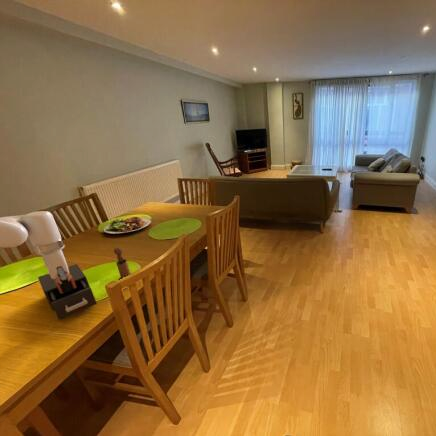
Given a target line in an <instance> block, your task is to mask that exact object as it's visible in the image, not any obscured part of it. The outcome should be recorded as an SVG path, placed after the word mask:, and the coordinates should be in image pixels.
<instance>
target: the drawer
mask: <svg viewBox="0 0 436 436" xmlns="http://www.w3.org/2000/svg"><path fill="white" fill-rule="evenodd" d="M74 283H75V285H76V288H74V289H73V290H70V291H68V292H65V293H60V291H59V289H55V290H53V291H50V292H49V293H50V295H51V297H52V300H53V302H51V305H52V307H53V309H54V313H55V315H56V317H57V319H58V321H59V322H60V321H62V320H64V319H66V318H69V317H71V316H73V315H76V314H77V313H80V312H82V311H84V310H86V309H89V308H91V307H93V306H95V305H98V303H97V300H96V297H95V295H94V293H93V290H92V288H91V286H90V287H88V288H87V286H86V284H85V283H84V281H83V280H79V281H77V282H74Z"/></svg>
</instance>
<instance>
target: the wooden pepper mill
mask: <svg viewBox="0 0 436 436" xmlns="http://www.w3.org/2000/svg"><path fill="white" fill-rule="evenodd" d="M113 253H114V254H115V255H116V256H117V257H116V259H117V261H116V263H115V264H116V267H117V269H118V273H119V277H118V279H117V281H118V280H120V279H122V278H123V277H126V276H128V275H130V274H132V273H131V270H130V267H129V263H128V260H127V259H125V258H124V255H122V253H123V248H122V247H120V246H117V247H115V248H114V249H113Z"/></svg>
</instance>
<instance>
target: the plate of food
mask: <svg viewBox="0 0 436 436" xmlns="http://www.w3.org/2000/svg"><path fill="white" fill-rule="evenodd" d="M151 223H152V218H149V217H143V216H142V217H140V216H130V217H127V218H124V219H123V218H122V219H121V220H120V219H118V218H116V219H114V220H113V221H111V222H110V224H108V225H107V226H105V227H104V228H103V232H104V233H107V234H124V233H130V232H134V231H139V230H141V229H145V227H148V226H149V225H150V224H151Z"/></svg>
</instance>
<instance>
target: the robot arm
mask: <svg viewBox="0 0 436 436" xmlns="http://www.w3.org/2000/svg"><path fill="white" fill-rule="evenodd" d="M57 225H58V224H57V223H56V220H55V218H54V215H53V214H52V213H51V212H50V211H47V210H39V211H33V212H30V213H26V214H20V215H9V216H2V217H1V216H0V248H4V249H5V248H16V247H19V246H20V245H23V244H24V243H26V241H27V239H29V240H30V241H29V242H30V243H31V245H32V248H33V250H34V252H35V255H39V256H41V258H42V261H43V263H44V265H45V267H46V270H47V272H48V273H49V274H50V276H51V278H52V279H55V278H58V280H59V282H60V284H59V285H60V287H61V289H62V292H63V293H65V292H68V291H70V290H73V289H74V287H73V285H72V282H71V280H70V279H69V277H68V274H69V269H68V267H69V266H68V263H67V260H66V258H65V255H64V252H63V249H64V248H65V247H66V245H65V243H64V241H63V239H62V236H61V233H60V230H59V228H58V226H57ZM60 277H61V280H60Z"/></svg>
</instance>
